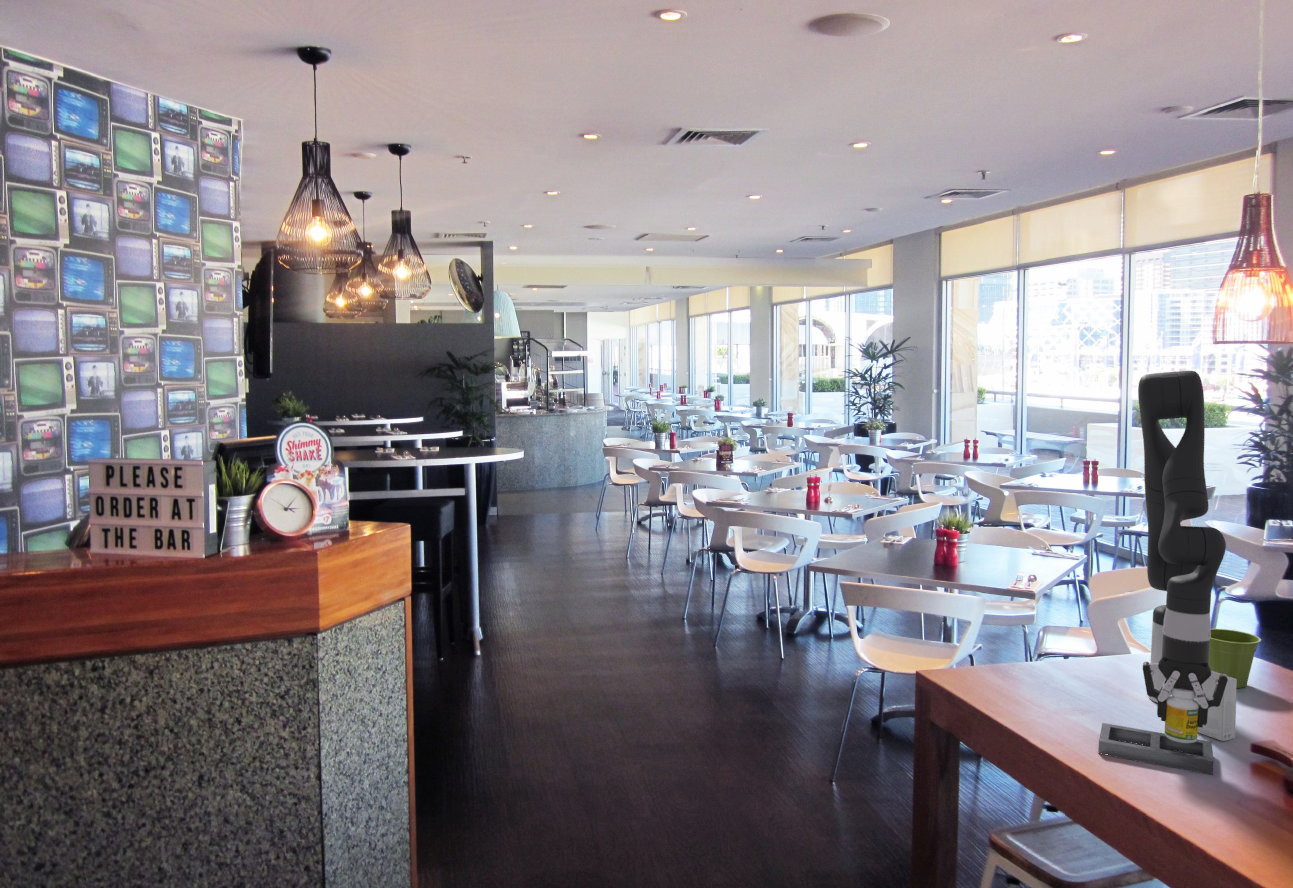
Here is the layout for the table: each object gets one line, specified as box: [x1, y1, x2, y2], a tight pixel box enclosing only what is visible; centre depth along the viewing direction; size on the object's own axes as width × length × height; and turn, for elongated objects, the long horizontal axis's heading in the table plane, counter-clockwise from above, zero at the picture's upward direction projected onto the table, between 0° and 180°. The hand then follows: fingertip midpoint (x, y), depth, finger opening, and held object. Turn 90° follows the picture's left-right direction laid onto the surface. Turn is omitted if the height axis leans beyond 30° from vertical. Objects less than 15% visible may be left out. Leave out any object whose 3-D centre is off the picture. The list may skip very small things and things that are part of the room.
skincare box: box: [1195, 676, 1237, 742], centre depth 184 cm, size 6×4×12 cm
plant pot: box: [1209, 628, 1262, 689], centre depth 213 cm, size 12×12×11 cm
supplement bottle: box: [1164, 686, 1199, 743], centre depth 173 cm, size 5×5×10 cm
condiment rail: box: [1097, 722, 1214, 776], centre depth 175 cm, size 10×18×2 cm, turn 61°
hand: (1181, 722), depth 173 cm, fingers closed on supplement bottle, 5 cm apart
